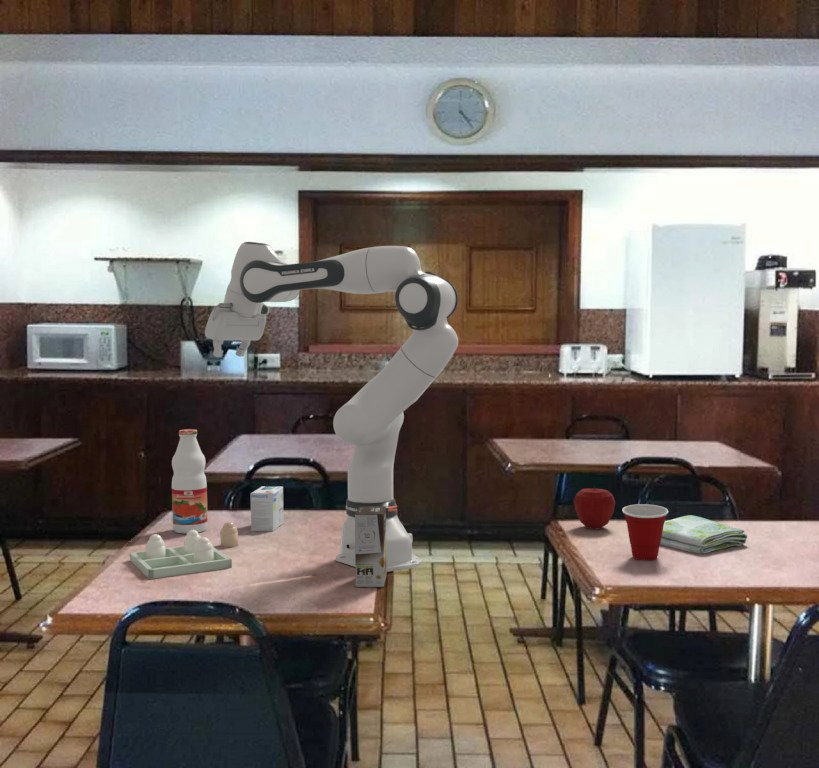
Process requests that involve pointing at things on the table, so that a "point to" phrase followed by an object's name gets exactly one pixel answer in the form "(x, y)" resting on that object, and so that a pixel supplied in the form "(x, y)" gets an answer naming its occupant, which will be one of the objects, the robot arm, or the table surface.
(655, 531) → the plastic cup
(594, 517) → the apple
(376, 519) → the coffee box
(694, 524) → the towel
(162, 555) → the cream egg
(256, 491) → the light bulb box
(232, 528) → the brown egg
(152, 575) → the egg tray
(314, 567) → the table surface
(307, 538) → the table surface
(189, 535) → the cream egg
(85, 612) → the table surface
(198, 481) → the fruit juice
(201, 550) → the cream egg
